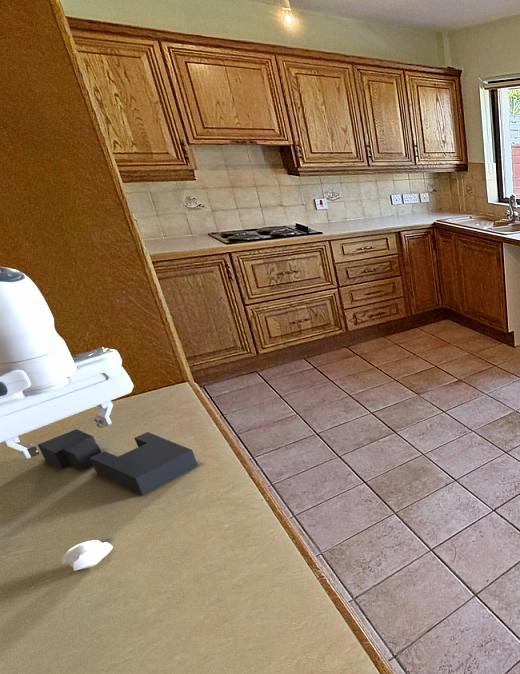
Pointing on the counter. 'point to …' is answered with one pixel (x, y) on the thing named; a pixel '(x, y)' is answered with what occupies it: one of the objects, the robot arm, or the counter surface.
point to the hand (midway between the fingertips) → (69, 440)
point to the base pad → (145, 464)
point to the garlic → (86, 554)
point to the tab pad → (70, 450)
